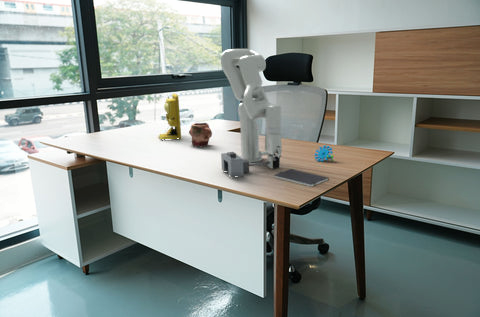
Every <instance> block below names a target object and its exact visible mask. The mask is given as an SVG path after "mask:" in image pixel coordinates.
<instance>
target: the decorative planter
mask: <svg viewBox="0 0 480 317" xmlns="http://www.w3.org/2000/svg"><path fill="white" fill-rule="evenodd" d="M188 134H189V135H190V136H191V145H192V146H193V145H194V146H193V147H195V146H202V147H205V145H206V146H208V145H209V142H210V138H211V137H212V136H213V132H212V129H211V128H210V125H209V123H207V122H196V123H192V124H191V126H190V129H189V130H188Z"/></svg>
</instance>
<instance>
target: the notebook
mask: <svg viewBox="0 0 480 317" xmlns="http://www.w3.org/2000/svg"><path fill="white" fill-rule="evenodd" d="M273 177H274V178H277V179H280V180H283V181H288V182H291V183H295V184H300V185H304V186H307V187H314V186H316V185H318V184H321V183H323V182H326V181H329V180H330V178H329V177H328V176H324V175H319V174H314V173H310V172H306V171H302V170H297V169H291V168H290V169H289V168H288V169H287V170H283V171H281V172H278V173H275V174H274V175H273Z"/></svg>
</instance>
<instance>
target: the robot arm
mask: <svg viewBox="0 0 480 317" xmlns="http://www.w3.org/2000/svg"><path fill="white" fill-rule="evenodd" d="M266 63H267V62H266V59H265V57H264V56H263V55H262V54H260V53H259V52H256V51H255V50H253V49H250V48H230V49H226V50H224V51H222V53H221V55H220V65H221V68H222V71H223V73H224V74H225V76H226V78H227V80H228V82H229V84H230V87H231V90H232V92H233V95H234V97H235V98H236V100H237V101H240V103H239V105H238V106H237V114H238V117H239V125H240V127H239V128H240V148H241V152H240V153H241V156H240V157H241V158H243V160H245V159H246V160H247V161H249V164H253V163H260V162H261V161H263V156H268V155H273V158H274V161H273V169H280V168H279V160H280V161H281V157H282V146H283V145H282V136H281V135H282V107H281V105H280V104H273V103H270V102H269V100H268V98H267V95H266V92H265V90H264V87H263V80H262V77H261V74H260V72H263V71H265V70H266V67H267V66H266V65H267V64H266ZM237 66H238V67H237ZM241 101H242V102H241ZM262 119H263V120H264V119H265V138H264V151H261V150H260V132H259V131H260V127H259V124H258V122H257V121H256V120H262ZM275 155H277V156H276V157H275Z"/></svg>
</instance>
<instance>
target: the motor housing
mask: <svg viewBox="0 0 480 317" xmlns="http://www.w3.org/2000/svg"><path fill="white" fill-rule="evenodd" d="M220 155H221V157H220V158H221V171H222V170H223V171H228V172H227V173H228V176H229V175H230V176H231V177H235V176H243V177H244V172H243V158H241V156H240V155H238V154H237V153H236V152H234V151H228V152H226V153H225V152H224V153H220ZM223 171H222V172H223ZM231 177H230V178H231Z"/></svg>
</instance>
